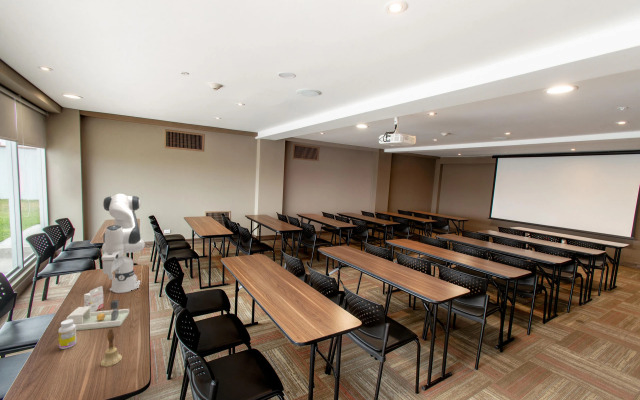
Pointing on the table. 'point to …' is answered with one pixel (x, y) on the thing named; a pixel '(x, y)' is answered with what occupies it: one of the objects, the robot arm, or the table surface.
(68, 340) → the supplement bottle
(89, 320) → the tray
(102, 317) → the ball
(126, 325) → the table surface
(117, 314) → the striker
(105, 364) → the hand bell
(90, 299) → the ink cartridge box
